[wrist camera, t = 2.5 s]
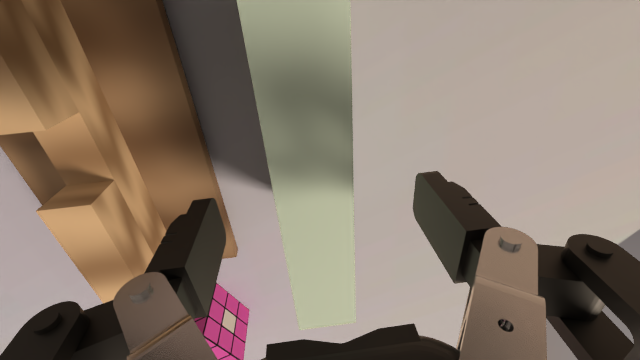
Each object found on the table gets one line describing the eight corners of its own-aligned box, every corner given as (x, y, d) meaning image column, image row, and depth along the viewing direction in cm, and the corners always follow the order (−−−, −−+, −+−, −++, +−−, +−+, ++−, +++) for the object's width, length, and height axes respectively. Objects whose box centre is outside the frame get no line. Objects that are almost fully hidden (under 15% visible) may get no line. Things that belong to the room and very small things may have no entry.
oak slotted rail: (-163, -119, 14) (-461, -197, 8) (120, -138, 14) (16, -223, 9) (97, 266, 28) (50, 333, 22) (237, 249, 28) (225, 310, 23)
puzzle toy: (173, 303, 31) (152, 358, 26) (216, 281, 30) (202, 335, 25) (209, 328, 34) (196, 382, 29) (249, 309, 33) (243, 362, 28)
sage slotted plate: (261, -24, 17) (226, -56, 7) (312, -28, 17) (349, -66, 7) (294, 199, 26) (299, 330, 16) (328, 195, 26) (355, 322, 16)
